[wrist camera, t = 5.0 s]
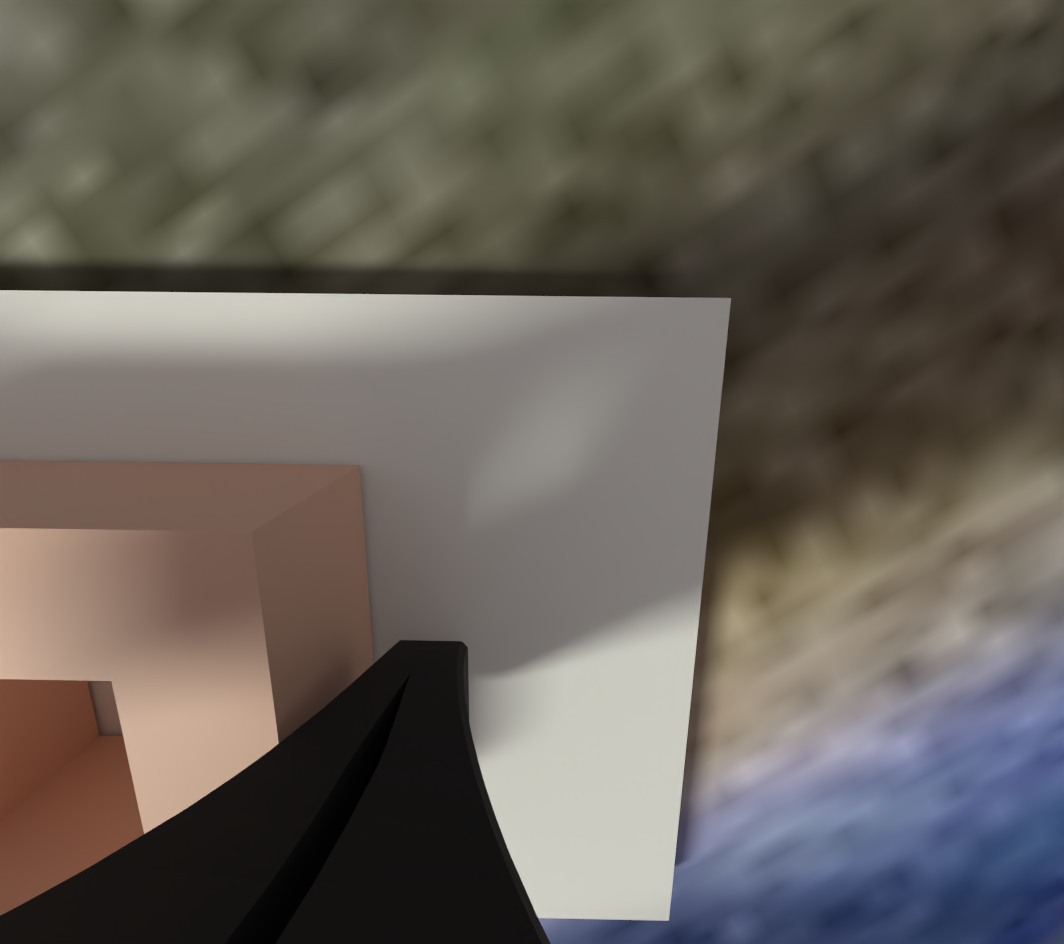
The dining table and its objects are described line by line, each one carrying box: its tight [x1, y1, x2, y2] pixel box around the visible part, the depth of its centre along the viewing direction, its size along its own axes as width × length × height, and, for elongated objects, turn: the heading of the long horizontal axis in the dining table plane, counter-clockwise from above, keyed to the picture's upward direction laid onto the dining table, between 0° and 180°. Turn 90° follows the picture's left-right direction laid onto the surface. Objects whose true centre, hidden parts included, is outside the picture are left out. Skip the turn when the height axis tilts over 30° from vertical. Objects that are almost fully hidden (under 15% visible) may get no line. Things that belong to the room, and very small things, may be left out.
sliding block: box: [0, 460, 374, 915], centre depth 8 cm, size 8×8×4 cm
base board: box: [0, 290, 731, 921], centre depth 9 cm, size 14×18×5 cm
